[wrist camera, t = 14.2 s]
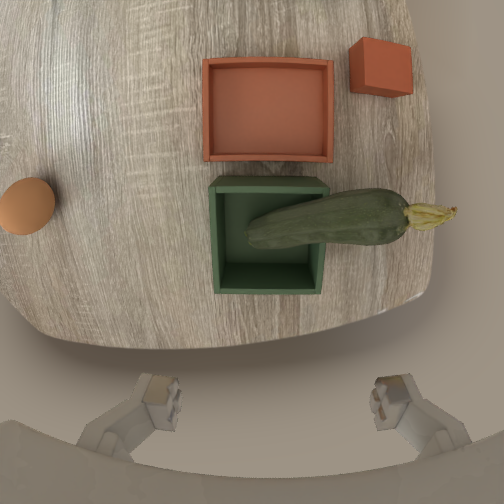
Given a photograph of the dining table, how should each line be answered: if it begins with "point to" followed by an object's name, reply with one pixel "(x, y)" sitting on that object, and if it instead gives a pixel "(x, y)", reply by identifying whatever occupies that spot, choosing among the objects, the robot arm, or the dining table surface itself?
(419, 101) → the dining table surface
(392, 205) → the vegetable
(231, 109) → the terracotta tray
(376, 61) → the terracotta block
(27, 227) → the egg
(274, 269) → the produce bin
